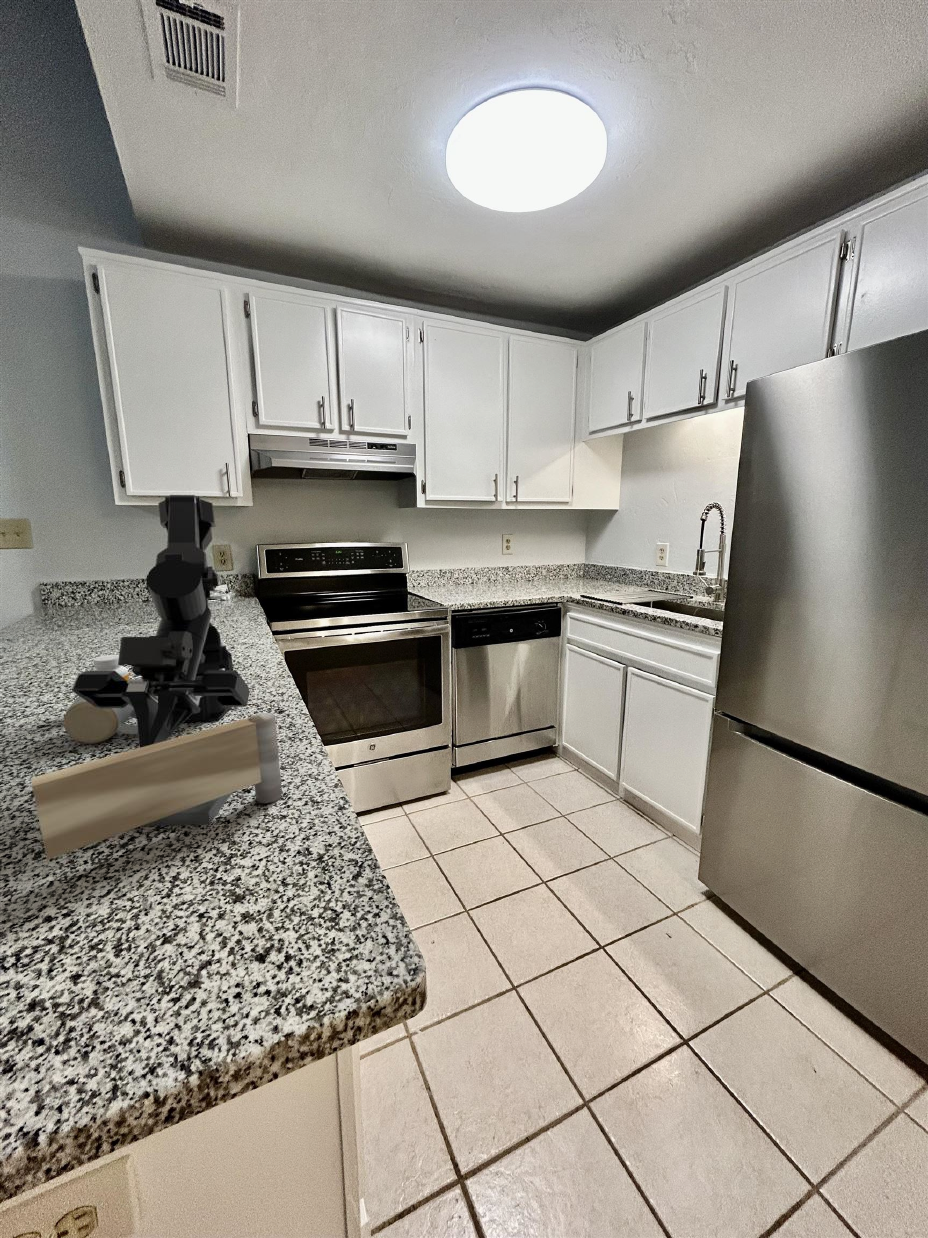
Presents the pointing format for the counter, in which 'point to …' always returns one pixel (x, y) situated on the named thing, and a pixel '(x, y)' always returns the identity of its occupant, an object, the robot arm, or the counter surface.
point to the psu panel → (193, 814)
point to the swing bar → (156, 782)
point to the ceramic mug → (97, 721)
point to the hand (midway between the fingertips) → (145, 757)
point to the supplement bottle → (110, 665)
